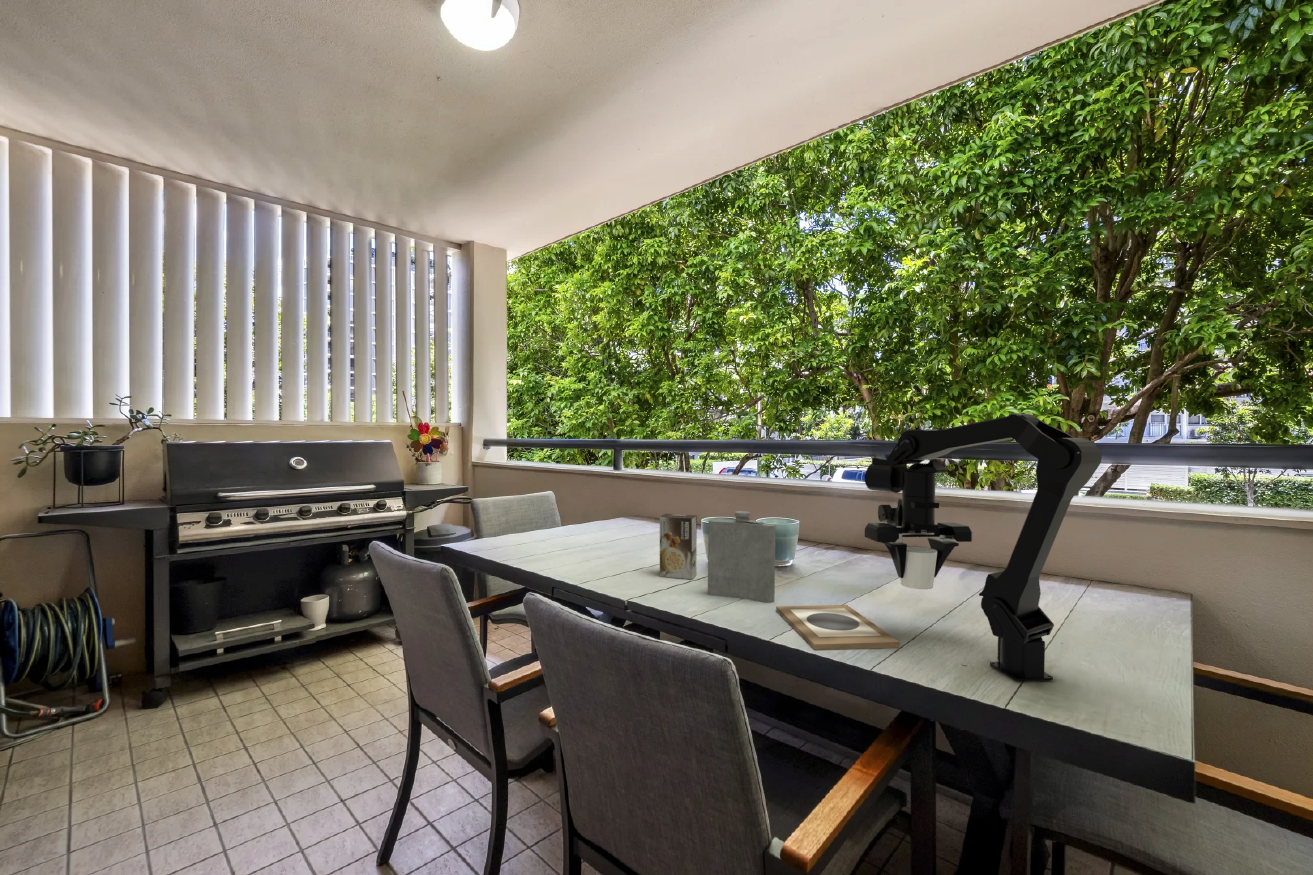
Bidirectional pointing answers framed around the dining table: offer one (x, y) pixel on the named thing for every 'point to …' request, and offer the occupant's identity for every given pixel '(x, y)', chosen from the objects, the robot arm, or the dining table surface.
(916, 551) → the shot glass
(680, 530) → the coffee box
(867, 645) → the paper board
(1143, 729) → the dining table surface
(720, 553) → the hip flask
